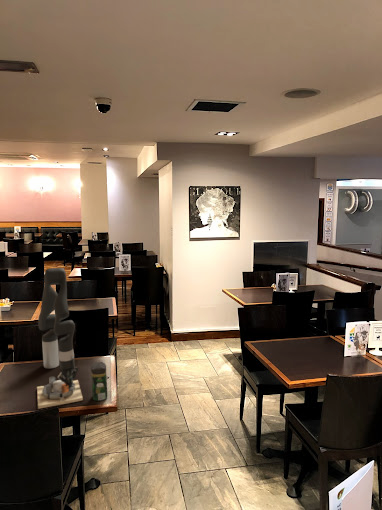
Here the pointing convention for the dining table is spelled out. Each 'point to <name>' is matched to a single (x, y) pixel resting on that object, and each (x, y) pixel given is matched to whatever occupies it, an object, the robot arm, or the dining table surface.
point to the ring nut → (57, 395)
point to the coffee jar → (99, 381)
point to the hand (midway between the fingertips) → (68, 387)
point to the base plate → (57, 387)
